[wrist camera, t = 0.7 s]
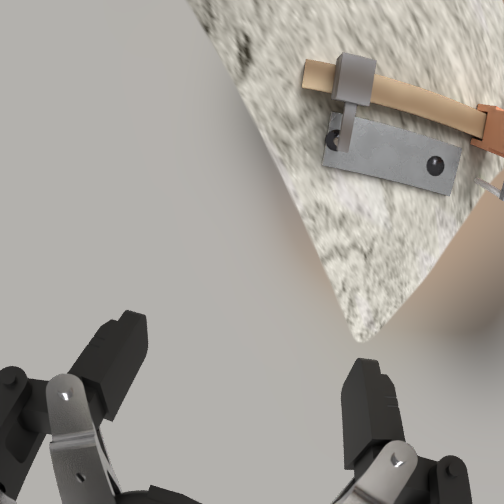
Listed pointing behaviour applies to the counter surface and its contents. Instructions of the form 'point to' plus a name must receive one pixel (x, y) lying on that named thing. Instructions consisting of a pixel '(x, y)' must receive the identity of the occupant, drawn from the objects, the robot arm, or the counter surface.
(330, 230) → the counter surface
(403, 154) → the strip
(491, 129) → the block
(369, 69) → the trammel bar
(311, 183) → the counter surface
